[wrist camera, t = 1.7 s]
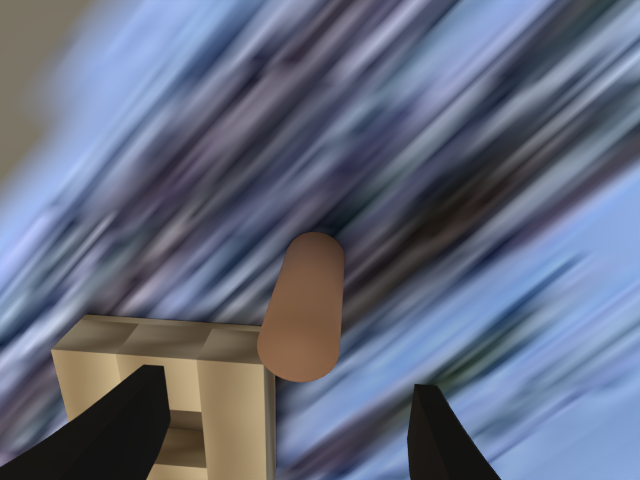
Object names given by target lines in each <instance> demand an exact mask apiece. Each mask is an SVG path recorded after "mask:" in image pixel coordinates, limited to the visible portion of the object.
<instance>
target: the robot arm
mask: <svg viewBox="0 0 640 480" xmlns="http://www.w3.org/2000/svg"><path fill="white" fill-rule="evenodd" d="M170 422H171V415H170V408H169V400H168V393H167V385H166V377H165V370H164V366H159V365H146V364H143V365H142V366H141V367H139V368H138V369H137V370H136V371H134V372H133V373H132V374H131V375H129V376H128V377H127V378H126V379H124V380H123V381H122V382H121V383H119V384H118V385H117V386H116V387H114V388H113V389H112V390H111V391H109V392H108V393H107V394H106V395H104V396H103V397H102V398H101V399H99V400H98V401H97V402H95V403H94V404H93V405H92V406H90V407H89V408H88V409H86V410H85V411H84V412H83V413H81V414H80V415H78V416H77V417H76V418H74V419H73V420H71V421H70V422H69V423H67V424H66V425H65V426H63V427H62V428H60V429H59V430H58V431H56V432H55V433H53V434H52V435H51V436H49V437H48V438H46V439H45V440H43V441H42V442H40V443H39V444H37V445H36V446H34V447H33V448H31V449H29V450H28V451H26V452H25V453H23V454H21V455H20V456H18V457H16V458H15V459H13V460H12V461H10V462H8V463H7V464H5V465H3V466H1V467H0V480H146V479H147V477H148V475H149V473H150V471H151V469H152V467H153V465H154V463H155V461H156V459H157V457H158V455H159V452H160V450H161V447H162V444H163V442H164V439H165V436H166V433H167V430H168V427H169V425H170ZM407 444H408V459H409V472H410V479H411V480H501V479H500V477H499V476H498V475H497V474H496V472H495V471H494V470H493V468H492V467H491V466H490V465H489V463H488V462H487V461H486V459H485V458H484V457H483V455H482V454H481V452H480V451H479V450H478V448H477V447H476V445H475V444H474V442H473V441H472V440H471V438H470V437H469V435H468V434H467V432H466V431H465V429H464V428H463V426H462V425H461V423H460V422H459V420H458V419H457V417H456V415H455V414H454V412H453V411H452V409H451V407H450V406H449V404H448V402H447V401H446V399H445V397H444V395H443V394H442V392H441V390H440V389H439V388H438V386H435V385H421V384H415V386H414V393H413V400H412V407H411V414H410V422H409V429H408V436H407Z"/></svg>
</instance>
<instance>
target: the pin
mask: <svg viewBox="0 0 640 480" xmlns="http://www.w3.org/2000/svg"><path fill="white" fill-rule="evenodd" d="M344 264H345V257H344V252H343V249H342V247H341V246H340V244H339V243H338V242H337V241H336V240H335V239H334V238H333V237H331V236H329V235H327V234H324V233H321V232H308V233H304V234H302V235H300V236H298V237H297V238H295V239H294V240H293V241H292V242H291V244H290V245H289V247H288V250H287V252H286V255H285V258H284V261H283V264H282V267H281V270H280V273H279V276H278V279H277V282H276V285H275V288H274V291H273V294H272V297H271V300H270V303H269V306H268V309H267V312H266V315H265V318H264V321H263V324H262V327H261V330H260V333H259V336H258V340H257V351H258V355H259V357H260V359H261V361H262V363H263V364H264V365H265V367H266V368H267V369H268V370H269V371H271V372H272V373H273V374H275V375H277V376H278V377H281V378H283V379H286V380H289V381H294V382H309V381H313V380H317V379H319V378H321V377H323V376H325V375H326V374H328V373H329V372H330V371H331V370H332V369H333V368H334V366H335V365H336V363H337V361H338V358H339V352H340V335H341V317H342V299H343V282H344Z"/></svg>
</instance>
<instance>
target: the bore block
mask: <svg viewBox="0 0 640 480" xmlns="http://www.w3.org/2000/svg"><path fill="white" fill-rule="evenodd" d="M261 327H262V326H250V325H235V324H221V323H206V322H191V321H176V320H161V319H146V318H131V317H116V316H101V315H85V316H84V317H83V318H82V319H81V320H80V321H79V322H78V323H77V324H76V325H75V326H74V327H73V328H72V329H71V330H70V331H69V332H68V333H67V334H66V335H65V336H64V337H63V338H62V339H61V340H60V341H59V342H58V343H57V344H56V345H55V346H54V347H53V348H52V349H51V352H52V356H53V360H54V364H55V368H56V372H57V376H58V380H59V384H60V388H61V392H62V396H63V400H64V404H65V408H66V412H67V416H68V420H69V422H70V421H71V420H73V419H74V418H76V417H77V416H78V415H80V414H81V413H83V412H84V411H85V410H86V409H88V408H89V407H90V406H92V405H93V404H94V403H95V402H97V401H98V400H99V399H101V398H102V397H103V396H104V395H106V394H107V393H108V392H109V391H111V390H112V389H113V388H114V387H116V386H117V385H118V384H119V383H121V382H122V381H123V380H124V379H126V378H127V377H128V376H129V375H131V374H132V373H133V372H134V371H136V370H137V369H138V368H139V367H141V366H142V365H143V364H146V365H159V366H164V370H165V377H166V385H167V393H168V400H169V408H170V415H171V422H170V425H169V427H168V430H167V433H166V436H165V439H164V442H163V444H162V447H161V450H160V452H159V455H158V457H157V459H156V461H155V463H154V465H153V467H152V469H151V471H150V473H149V475H148V477H147V479H146V480H274V476H275V471H276V410H275V374H273V373H272V372H271V371H269V370H268V369H267V368H266V367H265V365H264V364H263V363H262V361H261V359H260V357H259V355H258V351H257V340H258V336H259V333H260V330H261Z"/></svg>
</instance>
